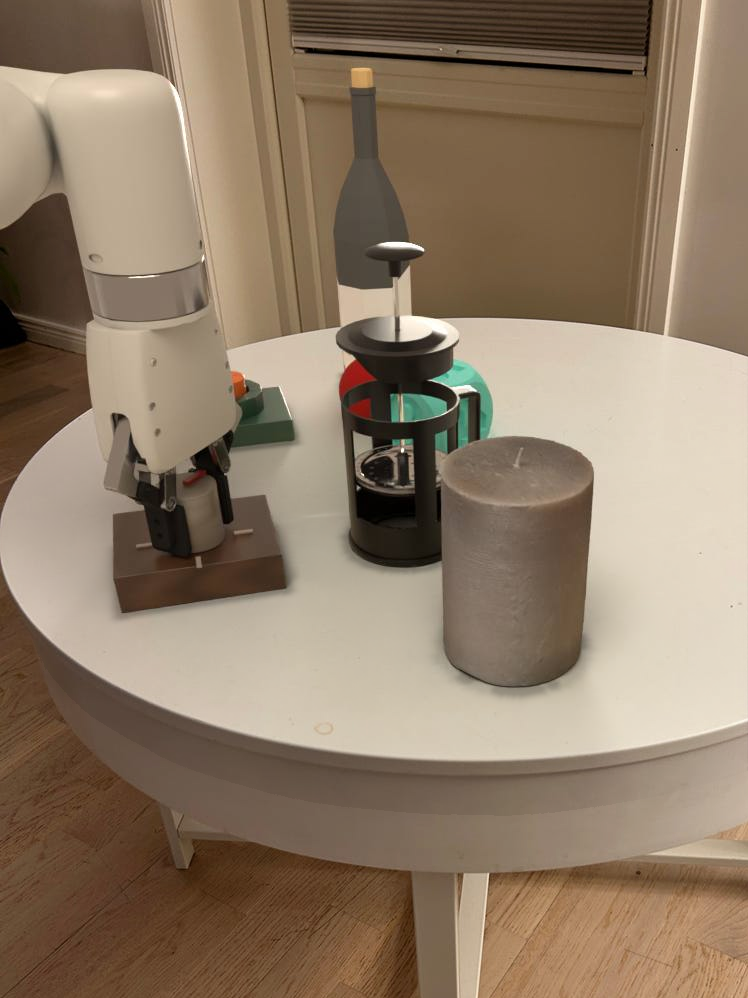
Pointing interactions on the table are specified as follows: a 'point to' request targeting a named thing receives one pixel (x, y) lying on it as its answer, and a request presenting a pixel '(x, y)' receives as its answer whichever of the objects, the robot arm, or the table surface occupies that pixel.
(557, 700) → the table surface
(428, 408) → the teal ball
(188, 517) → the dial knob
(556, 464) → the pillar candle
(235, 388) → the button
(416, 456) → the french press
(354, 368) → the christmas ornament
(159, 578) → the dial panel
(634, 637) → the table surface
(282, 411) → the button box
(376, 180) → the wine bottle
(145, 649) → the table surface
